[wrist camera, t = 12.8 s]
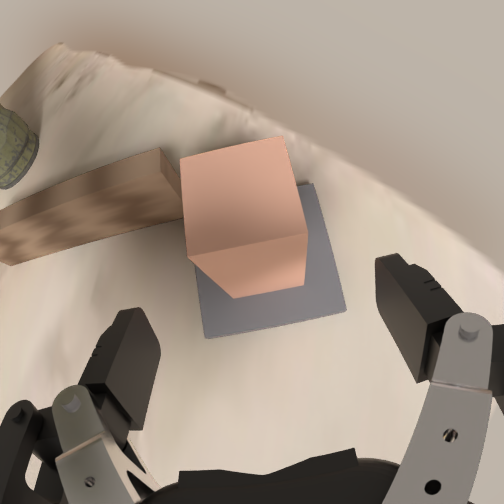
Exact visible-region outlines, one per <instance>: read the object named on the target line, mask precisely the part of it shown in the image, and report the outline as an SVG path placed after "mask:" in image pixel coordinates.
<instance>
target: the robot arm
mask: <svg viewBox="0 0 504 504" xmlns="http://www.w3.org/2000/svg"><path fill="white" fill-rule="evenodd" d="M375 284H376V303H377V307H378V311H379V313H380V315H381V317H382V319H383V321H384V322H385V324H386V326H387V328H388V330H389V332H390V333H391V335H392V337H393V339H394V341H395V343H396V344H397V346H398V348H399V350H400V352H401V354H402V356H403V358H404V360H405V361H406V363H407V365H408V367H409V369H410V371H411V373H412V375H413V377H414V379H415V381H416V383H420V382H423V381H425V380H429V382H430V386H429V389H428V392H427V395H426V399H425V402H424V405H423V408H422V411H421V414H420V417H419V419H418V422H417V425H416V428H415V430H414V433H413V436H412V438H411V441H410V443H409V446H408V448H407V451H406V453H405V456H404V458H403V460H402V463H401V465H399V464H397V463H394V462H390V461H386V460H381V459H374V458H357V456H356V452H355V448H351V449H348V450H344V451H339V452H335V453H331V454H326V455H322V456H317V457H312V458H309V459H306V460H304V461H301V462H299V463H296V464H294V465H291V466H289V467H286V468H284V469H281V470H278V471H276V472H273V473H270V474H267V475H256V474H247V473H240V472H232V471H226V470H200V471H179V479H178V482H176V483H173V484H170V485H167V486H165V487H163V488H161V487H160V486H159V484H158V483H157V482H156V481H155V479H154V478H153V477H152V475H151V473H150V472H149V470H148V469H147V467H146V466H145V464H144V462H143V461H142V459H141V457H140V456H139V454H138V452H137V451H136V449H135V447H134V445H133V444H132V442H131V440H130V439H129V438H128V437H127V436H128V433H129V430H143V425H144V421H145V417H146V413H147V408H148V404H149V400H150V396H151V392H152V388H153V384H154V380H155V376H156V372H157V368H158V364H159V361H160V356H161V349H160V344H159V341H158V339H157V337H156V335H155V333H154V331H153V329H152V327H151V325H150V323H149V321H148V319H147V317H146V315H145V313H144V311H143V310H142V309H141V308H139V307H137V308H131V309H126V310H121V311H119V312H118V314H117V316H116V318H115V320H114V322H113V324H112V326H110V327H109V328H108V329H107V330H106V331H105V332H104V333H103V334H102V335H101V336H100V338H99V340H98V342H97V344H96V348H95V349H94V351H93V353H92V357H90V359H89V361H88V363H87V365H86V367H85V370H84V372H83V374H82V376H81V378H80V380H79V383H78V385H73V386H70V387H68V388H66V389H64V390H63V391H61V392H60V393H59V394H58V395H57V397H56V398H55V400H54V402H53V405H52V406H51V407H48V408H44V409H41V410H37V409H36V407H35V406H34V405H33V404H32V403H31V402H30V401H28V400H21V401H19V402H17V403H15V404H14V405H12V406H11V407H10V409H9V410H8V411H7V413H6V415H5V417H4V419H3V421H2V423H1V426H0V504H474V503H472V502H469V501H468V499H469V496H470V493H471V490H472V487H473V483H474V480H475V477H476V474H477V470H478V466H479V462H480V459H481V454H482V450H483V446H484V442H485V437H486V432H487V427H488V421H489V416H490V410H491V403H492V397H495V399H496V401H497V403H498V405H499V407H500V409H501V411H502V412H503V414H504V324H501V325H491V324H490V323H489V322H488V320H486V319H485V318H484V317H482V316H480V315H478V314H475V313H468V312H465V313H464V312H463V311H462V310H461V308H460V307H459V306H458V305H457V304H456V303H455V301H454V300H453V299H452V298H451V297H450V296H449V294H448V293H447V292H446V291H445V290H444V289H443V288H441V285H440V284H439V283H438V282H437V281H435V279H434V278H433V276H432V275H431V274H430V273H429V272H428V271H427V270H426V269H424V268H422V267H420V266H418V265H416V264H412V265H408V264H407V263H406V262H405V260H404V259H403V258H402V257H401V256H400V255H399V254H398V253H395V254H391V255H387V256H382V257H378V258H376V260H375ZM32 453H33V454H34V455H35V456H36V457H37V458H38V459H40V460H41V461H42V464H41V468H40V471H39V474H38V478H37V481H36V485H35V488H34V491H33V490H32V489H30V488H29V487H28V485H27V483H26V481H25V473H26V470H27V467H28V464H29V461H30V458H31V455H32Z"/></svg>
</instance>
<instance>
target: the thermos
mask: <svg viewBox="0 0 504 504" xmlns="http://www.w3.org/2000/svg"><path fill="white" fill-rule="evenodd" d="M38 148H39V139H38V137H37V136H36V135H35V134H34V133H33V132H32V131H31V130H29V128H28V126H27V124H26V123H25V122H24V121H23V120H22V119H21V118H20V117H19V116H18V115H17V114H16V113H15V112H13V111H10V110H7V109H5V108H4V107H3V106H2V105H1V104H0V188H1V189H8V188H10V187H13V186H14V185H15V184H16V183H18V182H19V181H20V180H21V179H22V177H23V176H24V175H25V174H26V173H27V171H28V170H29V168H30V167H31V165H32V163H33V161H34V159H35V157H36V155H37V151H38Z"/></svg>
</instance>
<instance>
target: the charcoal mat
mask: <svg viewBox="0 0 504 504" xmlns="http://www.w3.org/2000/svg"><path fill="white" fill-rule="evenodd" d="M297 189H298V193H299V197H300V201H301V205H302V209H303V213H304V217H305V221H306V225H307V229H308V244H307V256H306V268H305V279H304V285H302V286H297V287H292V288H287V289H282V290H277V291H272V292H267V293H261V294H256V295H251V296H245V297H240V298H234V299H233V298H232V297H231V296H230V295H229V294H228V293H226V292H225V291H224V290H223V289H222V288H221V287H220V286H219V285H218V284H216V283H215V282H214V281H213V280H212V279H211V278H210V277H209V276H208V275H206V274H205V273H204V272H203V271H202V270H201V269H200V268H199V267H198V266H197V265H195V271H196V279H197V286H198V294H199V301H200V308H201V315H202V322H203V329H204V335H205V338H207V339H210V338H216V337H223V336H228V335H234V334H240V333H246V332H251V331H257V330H262V329H267V328H272V327H277V326H282V325H287V324H292V323H297V322H302V321H306V320H311V319H316V318H320V317H325V316H329V315H333V314H338V313H342V312H345V311H346V310H347V309H346V305H345V300H344V296H343V292H342V287H341V283H340V279H339V275H338V271H337V267H336V263H335V259H334V255H333V252H332V248H331V244H330V240H329V236H328V233H327V229H326V226H325V222H324V218H323V215H322V211H321V208H320V204H319V201H318V198H317V194H316V191H315V187H314V184H313V183H312V184H307V185H302V186H297Z"/></svg>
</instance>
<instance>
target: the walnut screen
mask: <svg viewBox="0 0 504 504" xmlns="http://www.w3.org/2000/svg"><path fill="white" fill-rule="evenodd" d="M180 218H184V215H183V202H182V188H181V179H180V178H179V176H178V175H177V173H176V172H175V170H174V169H173V167H172V166H171V164H170V162H169V161H168V159H167V158H166V156H165V155H164V153H163V152H162V150H161V148H157V149H153V150H150V151H147V152H144V153H141V154H138V155H135V156H132V157H129V158H126V159H123V160H120V161H117V162H114V163H111V164H108V165H106V166H103V167H100V168H97V169H95V170H92V171H89V172H87V173H84V174H81V175H79V176H76V177H74V178H71V179H69V180H66V181H64V182H62V183H59V184H57V185H54V186H52V187H50V188H47V189H45V190H43V191H40V192H38V193H36V194H34V195H31V196H29V197H27V198H25V199H23V200H21V201H18V202H16V203H14V204H12V205H10V206H8V207H6V208H4V209H2V210H0V262H3V263H5V264H7V265H10V266H13V265H16V264H19V263H22V262H26V261H29V260H32V259H35V258H38V257H42V256H45V255H48V254H52V253H55V252H58V251H62V250H65V249H69V248H72V247H75V246H79V245H82V244H86V243H89V242H93V241H96V240H100V239H104V238H107V237H111V236H115V235H118V234H122V233H126V232H129V231H133V230H137V229H141V228H145V227H149V226H152V225H156V224H160V223H164V222H168V221H172V220H176V219H180Z"/></svg>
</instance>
